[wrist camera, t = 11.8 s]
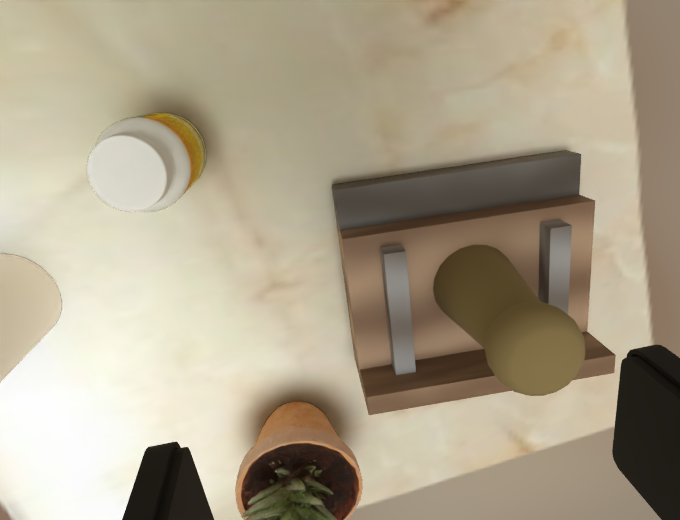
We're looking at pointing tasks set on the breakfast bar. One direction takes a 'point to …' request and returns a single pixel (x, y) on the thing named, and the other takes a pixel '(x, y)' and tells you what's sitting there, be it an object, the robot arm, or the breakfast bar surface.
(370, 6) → the breakfast bar surface
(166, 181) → the supplement bottle
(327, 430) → the potted plant
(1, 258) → the cylindrical container
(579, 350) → the olive rounded upright piece
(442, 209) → the loading dock
